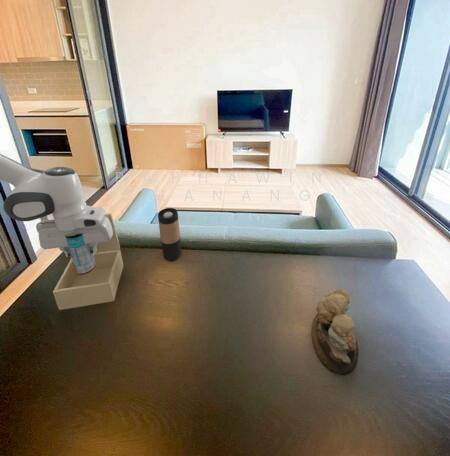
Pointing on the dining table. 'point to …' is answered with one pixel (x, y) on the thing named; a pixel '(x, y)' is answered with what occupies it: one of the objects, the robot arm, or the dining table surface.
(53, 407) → the dining table surface
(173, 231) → the travel mug
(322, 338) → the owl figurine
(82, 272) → the supplement bottle
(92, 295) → the bin
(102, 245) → the bin lid
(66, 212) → the robot arm
